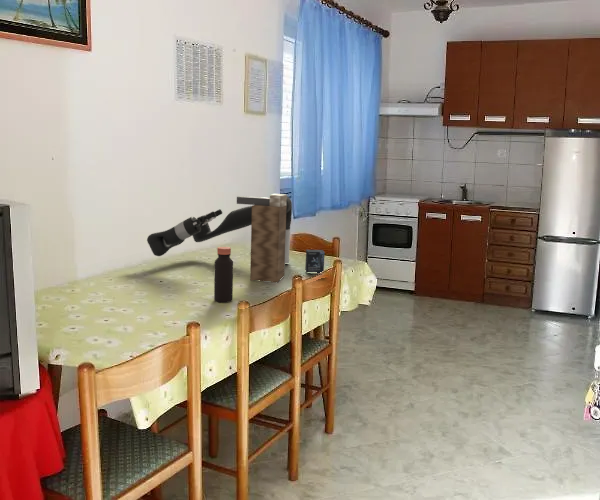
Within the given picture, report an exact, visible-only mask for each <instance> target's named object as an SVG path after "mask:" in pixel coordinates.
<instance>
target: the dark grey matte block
mask: <svg viewBox="0 0 600 500" xmlns="http://www.w3.org/2000/svg"><path fill="white" fill-rule="evenodd" d="M236 204H237V205H250V206H253V205H265V206H270V197H264V196H247V195H246V196H245V195H237V196H236Z"/></svg>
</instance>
